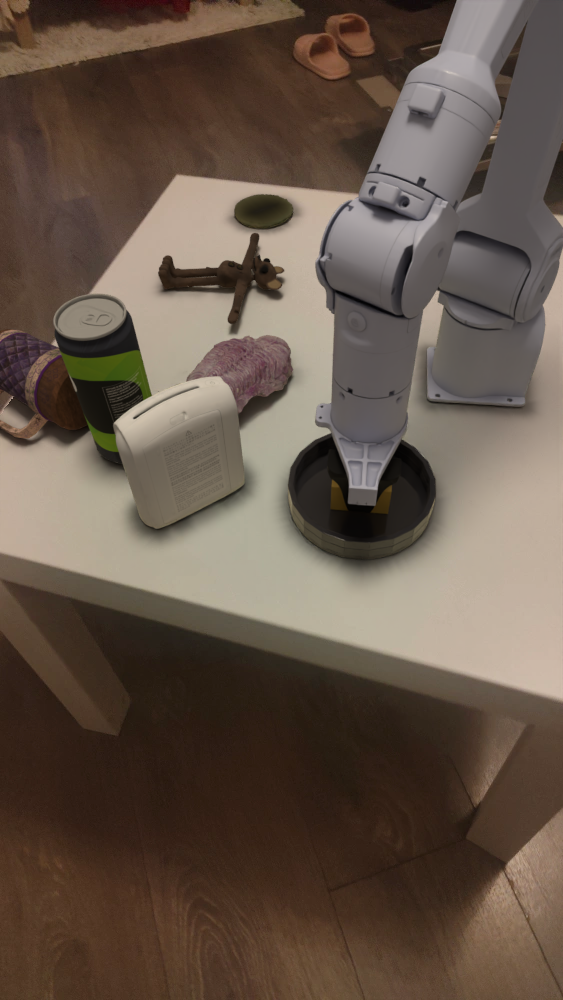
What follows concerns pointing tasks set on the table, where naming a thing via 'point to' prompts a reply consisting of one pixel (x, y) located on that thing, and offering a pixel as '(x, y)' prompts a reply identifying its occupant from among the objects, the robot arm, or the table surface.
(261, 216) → the olive green flat disc
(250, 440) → the table surface
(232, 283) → the bear figurine
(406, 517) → the pan
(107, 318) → the beverage can
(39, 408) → the mug
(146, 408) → the photo printer
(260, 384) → the fossil
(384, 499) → the cheese
